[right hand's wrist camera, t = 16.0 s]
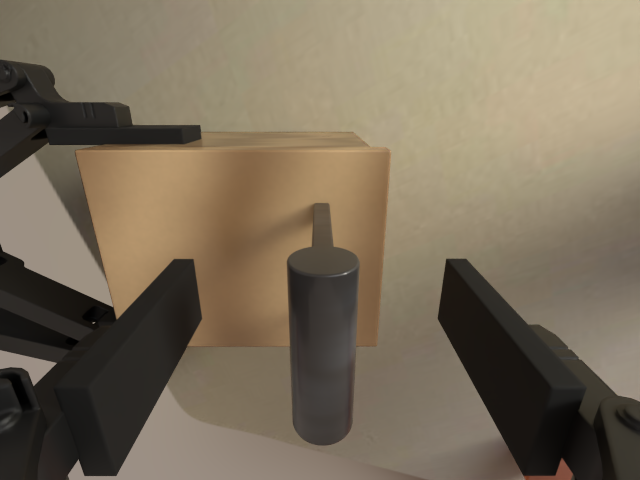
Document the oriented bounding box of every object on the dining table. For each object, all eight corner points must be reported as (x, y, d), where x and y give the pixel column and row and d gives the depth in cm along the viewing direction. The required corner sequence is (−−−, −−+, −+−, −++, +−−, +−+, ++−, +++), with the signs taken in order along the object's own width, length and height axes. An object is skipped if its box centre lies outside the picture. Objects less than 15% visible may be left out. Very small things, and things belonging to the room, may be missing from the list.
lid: (386, 146, 16) (455, 190, 8) (374, 333, 20) (412, 492, 12) (89, 147, 16) (-144, 190, 8) (133, 334, 19) (4, 493, 12)
